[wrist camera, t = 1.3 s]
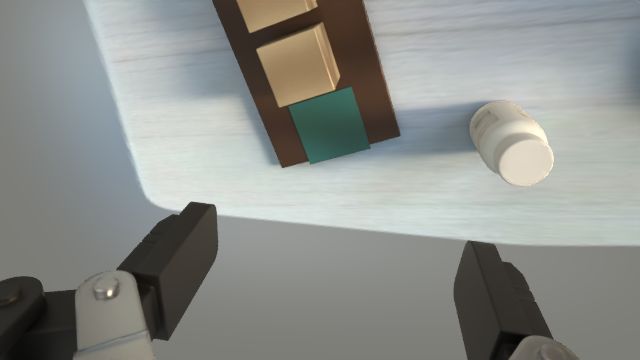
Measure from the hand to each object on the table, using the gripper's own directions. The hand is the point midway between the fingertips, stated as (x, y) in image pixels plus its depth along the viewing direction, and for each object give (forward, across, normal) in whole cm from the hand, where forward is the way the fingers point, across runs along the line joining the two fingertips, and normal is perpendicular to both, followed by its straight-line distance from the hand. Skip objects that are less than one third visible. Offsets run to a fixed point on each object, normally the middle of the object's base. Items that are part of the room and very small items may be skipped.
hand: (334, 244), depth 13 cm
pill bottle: (+23, -11, +2) cm, 26 cm away
